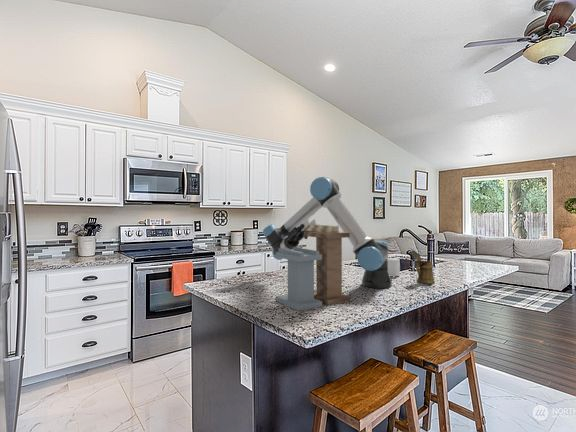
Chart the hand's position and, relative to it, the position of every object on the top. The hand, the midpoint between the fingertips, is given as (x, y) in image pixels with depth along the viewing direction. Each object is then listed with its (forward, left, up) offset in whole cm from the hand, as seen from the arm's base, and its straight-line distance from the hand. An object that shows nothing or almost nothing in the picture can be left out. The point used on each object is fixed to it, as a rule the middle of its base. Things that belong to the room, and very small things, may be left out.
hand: (311, 222), depth 160 cm
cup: (-51, -41, -35) cm, 74 cm away
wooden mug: (-63, -22, -35) cm, 75 cm away
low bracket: (+7, +17, -34) cm, 39 cm away
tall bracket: (-6, +10, -34) cm, 36 cm away
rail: (-3, +5, -4) cm, 7 cm away
